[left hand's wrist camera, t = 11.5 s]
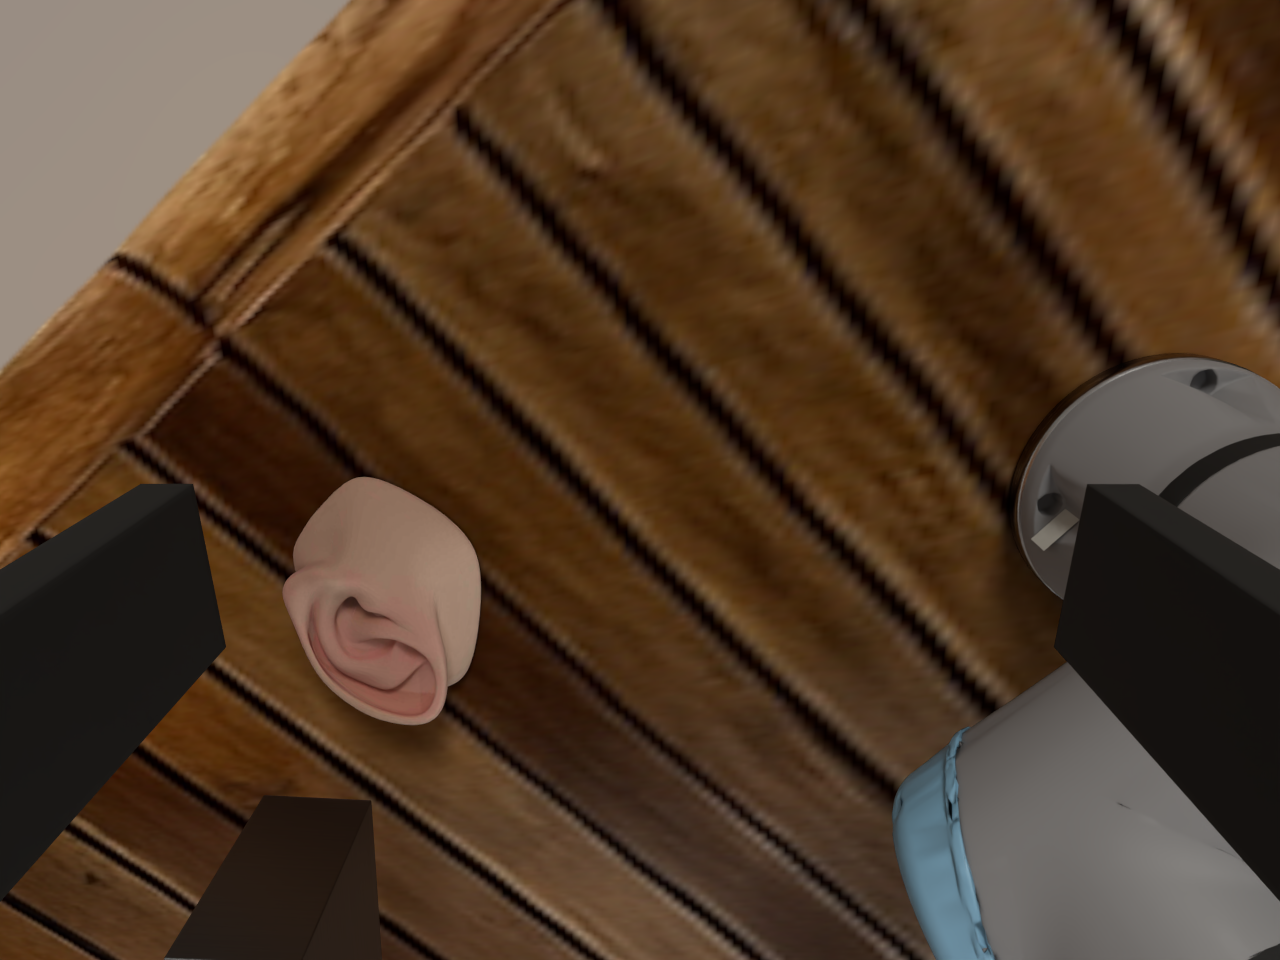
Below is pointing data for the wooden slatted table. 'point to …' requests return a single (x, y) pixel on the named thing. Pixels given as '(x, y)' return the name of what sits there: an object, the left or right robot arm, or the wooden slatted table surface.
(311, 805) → the bar
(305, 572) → the anatomical model
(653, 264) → the wooden slatted table surface
